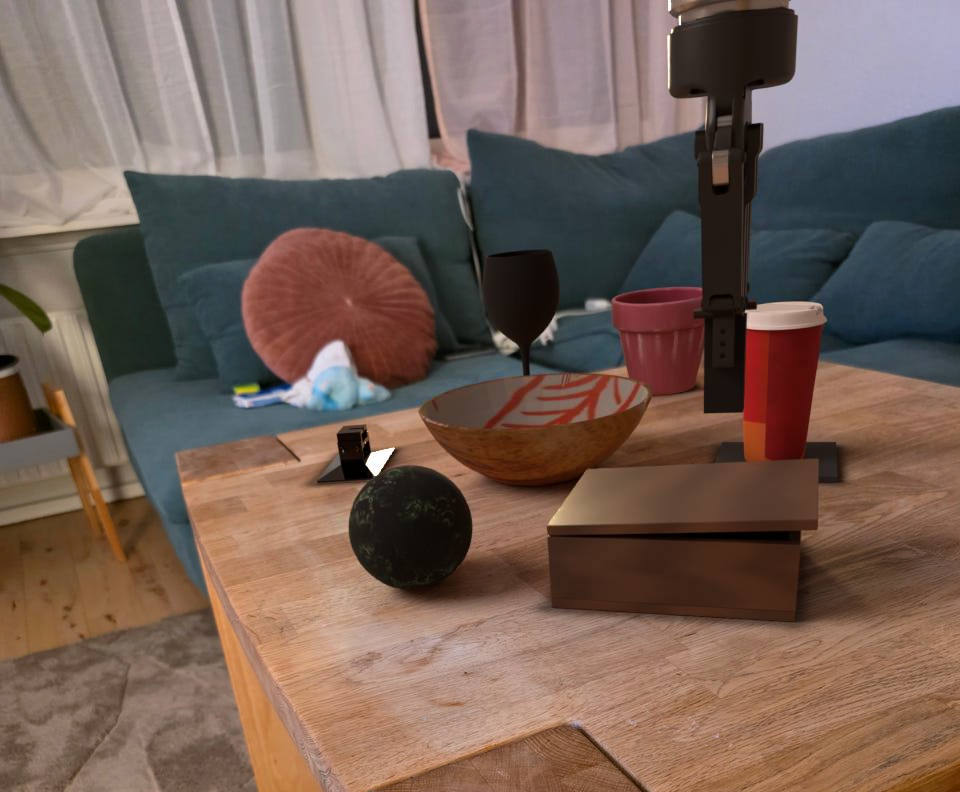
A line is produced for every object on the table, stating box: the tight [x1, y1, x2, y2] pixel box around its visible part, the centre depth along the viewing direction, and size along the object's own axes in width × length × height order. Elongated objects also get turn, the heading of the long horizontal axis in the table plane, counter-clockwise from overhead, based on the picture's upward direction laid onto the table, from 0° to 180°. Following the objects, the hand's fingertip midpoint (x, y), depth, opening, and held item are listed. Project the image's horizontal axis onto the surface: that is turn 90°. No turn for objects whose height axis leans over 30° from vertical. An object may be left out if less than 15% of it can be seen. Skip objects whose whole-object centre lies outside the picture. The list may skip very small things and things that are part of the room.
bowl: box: [417, 372, 653, 487], centre depth 97 cm, size 25×25×8 cm
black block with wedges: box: [315, 424, 396, 485], centre depth 107 cm, size 12×7×5 cm, turn 175°
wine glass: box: [482, 248, 560, 376], centre depth 124 cm, size 10×10×20 cm
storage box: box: [546, 531, 802, 622], centre depth 70 cm, size 18×14×6 cm
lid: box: [546, 459, 820, 536], centre depth 68 cm, size 19×14×1 cm
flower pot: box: [611, 286, 704, 396], centre depth 126 cm, size 14×14×13 cm
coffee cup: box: [742, 301, 828, 462], centre depth 90 cm, size 8×8×15 cm
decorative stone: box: [348, 464, 474, 591], centre depth 72 cm, size 10×10×10 cm
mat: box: [715, 441, 839, 483], centre depth 94 cm, size 12×12×1 cm
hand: (723, 410), depth 64 cm, fingers closed
